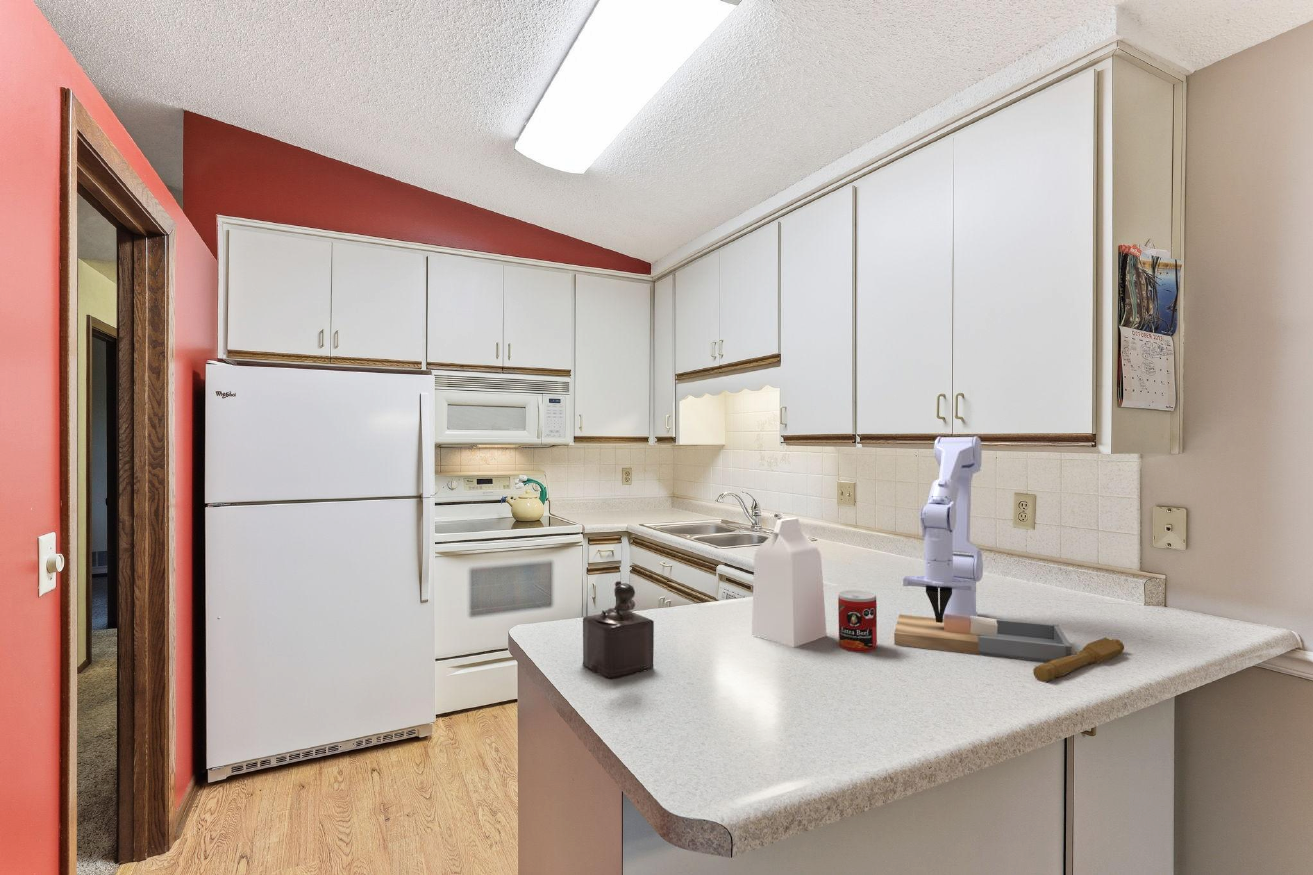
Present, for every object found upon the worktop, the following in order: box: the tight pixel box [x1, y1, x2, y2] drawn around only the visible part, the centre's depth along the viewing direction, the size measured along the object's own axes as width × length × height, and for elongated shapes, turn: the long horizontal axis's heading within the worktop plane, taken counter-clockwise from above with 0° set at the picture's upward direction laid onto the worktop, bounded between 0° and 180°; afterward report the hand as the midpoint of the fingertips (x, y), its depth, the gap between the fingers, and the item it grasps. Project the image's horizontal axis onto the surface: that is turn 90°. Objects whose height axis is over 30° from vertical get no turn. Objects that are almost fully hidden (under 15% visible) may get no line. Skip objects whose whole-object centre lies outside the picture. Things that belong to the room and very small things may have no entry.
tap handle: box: [1032, 636, 1125, 683], centre depth 123 cm, size 3×3×30 cm
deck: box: [893, 614, 979, 655], centre depth 140 cm, size 16×16×2 cm
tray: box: [978, 618, 1073, 663], centre depth 134 cm, size 16×16×4 cm
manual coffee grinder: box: [582, 580, 655, 679], centre depth 123 cm, size 16×11×18 cm
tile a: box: [944, 614, 970, 634], centre depth 139 cm, size 5×5×2 cm
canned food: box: [837, 589, 878, 653], centre depth 136 cm, size 8×8×11 cm
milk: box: [751, 517, 828, 648], centre depth 144 cm, size 12×12×26 cm
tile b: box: [970, 616, 998, 638], centre depth 137 cm, size 5×5×2 cm
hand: (939, 621), depth 140 cm, fingers closed
